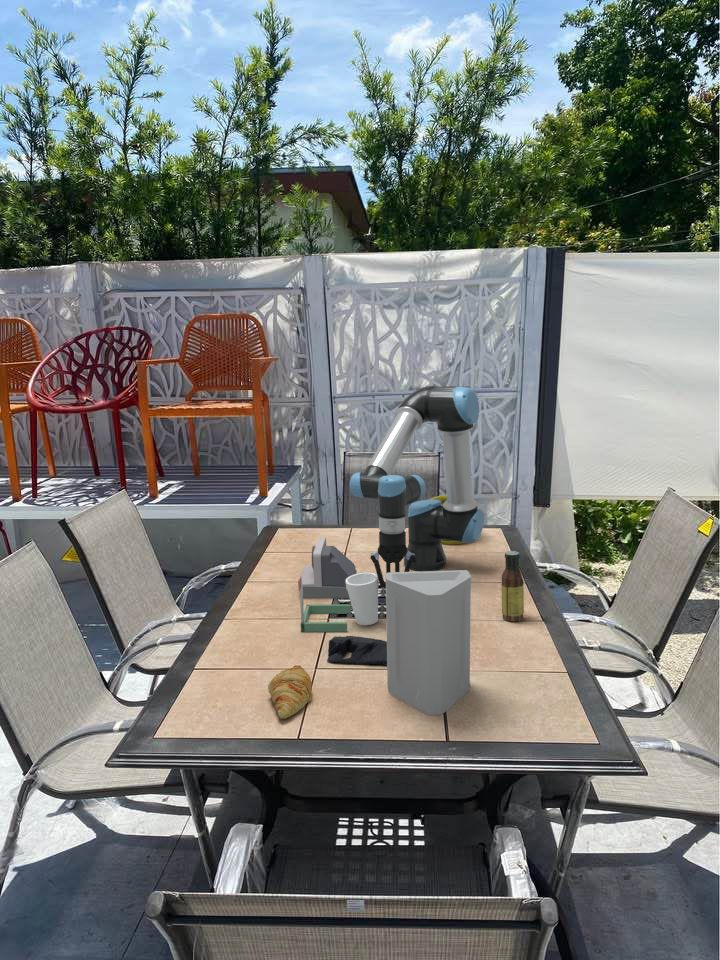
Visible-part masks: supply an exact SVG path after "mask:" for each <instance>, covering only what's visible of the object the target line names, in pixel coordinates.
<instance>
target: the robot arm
mask: <svg viewBox="0 0 720 960" xmlns="http://www.w3.org/2000/svg"><path fill="white" fill-rule="evenodd" d="M479 413H480V403H479V398H478V396H477V393H476V392H475V391H474V390H473V389H472V388H470V387H465V386H464V387H463V386H459V385H457V386H452V385H451V386H448V385H447V386H446V385H445V386H442V385H441V386H439V385H438V386H435V385H434V386H433V385H427V386H424V387H421V388H418V389H416V390H414V392H412V393H410V394H409V395H408V396H407V397H406V398H405V399H403V400H402V402H401V403H400V404H399V406H398V407H397V409H396V410H395V413H394V417H395V419H394V420H393V422H392V423H391V425H390V427H389V429H388V430H387V432H386V434H385V436H384V437H383V439H382V440H381V442H380V444H379V446H378V448H377V449H376V450H375V452H374V453H373V456H372V458H371V460H370V462H369V463H368V465H367V467H366V468H365V470H364V471H363V472H362V471H359V472H355V473H353V474H352V476H351V477H350V479H349V490H350V494H351V495H352V496H353V497H355V498H361V499H368V500H369V499H371V500H378V530H379V532H378V539H379V540H378V542H379V543H378V544H379V545H378V548H377V551H375V552H372V553H370V557H369V558H370V560H371V561H372V563H373V564H374V568H375V572H376V575H377V576H378V582H379V586H380V588H383V589H386V581H384V576H383V572H382V569H381V565H380V561H379V560H380V557H381V559H382V560H383V562H385V566H386V567H385V568H386V569H385V570H386V571H385V574H386V573H390V572H391V564H392V563H393V564H394V567H395V568H394V572H401V571H400V562H401V561H402V560H403V566H404V571H403V572H411V570H412V571H413V570H414V571H417V572H422V571H439V570H441V569H444V568H445V567H446V566H447V557H446V554H445V553H446V552H445V550H444V548H443V545H442V543H441V539H444V540H451V541H458V542H462V543H463V544H465V543H470V544H474V543H475V542H477V541H478V540H479V538H480V536H481V534H482V532H483V529H484V524H485V512H484V511H483V510H481V509H480V508H479V509H478V502H477V500H475V499H474V498H473V485H472V483H473V482H472V467H471V465H472V464H471V445H470V431H472V430H473V428H474V425H475V424H476V423H477V422H478V420H479V416H480V414H479ZM427 422H432V423H436V424H437V430H438V431H439V432H440V433H441V434H442V441H443V442H442V443H443V456H444V457H443V460H444V473H445V476H444V477H445V487H446V495H447V500H446V501H445V502H444V504H443V506H442V503H441V501H440V500H436V499H431V498H430V499H431V500H430V499H422V500H420V499H421V498H422V497H423V496H424V495H425V493H426V490H427V489H426V487H427V486H426V482H425V480H424V479H423V478H422V477H421V476H420V475H416V474H411V475H410V474H409V475H407V476H406V475H405V476H402V475H397V474H392V473H393V472H394V470H395V468H396V466H397V464H398V463H399V461H400V460H401V457H402V455H403V453H404V452H405V450H406V448H407V446H408V445H409V443H410V441H411V439H412V437H413V436H414V434H415V432H416V430H418V429H419V430H420V429H421V427H423V424H424V423H427ZM472 498H473V499H472ZM409 504H410V505H409ZM408 505H409V506H408ZM406 506H408V513H407V520H408V521H407V520H406ZM406 521H407V522H406ZM407 523H408V524H407ZM406 525H408V527H406ZM406 528H408V533H407V532H406V531H405V530H406ZM406 534H408V545H407V544H406V543H407V541H406V540H407V537H406V536H407V535H406ZM464 542H465V543H464Z"/></svg>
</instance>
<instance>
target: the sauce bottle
mask: <svg viewBox="0 0 720 960" xmlns="http://www.w3.org/2000/svg"><path fill="white" fill-rule="evenodd" d="M504 559H505V566H504V567H505V568H504V570H503V572H502V574H501V614H502V618H503V619H504V620H505V621H507V622H514V623H515V622H520V621H522V620H523V619H524V613H525V606H524V605H525V604H524V603H525V602H524V601H525V599H524V597H525V596H524V595H525V594H524V593H525V592H524V588H525V587H524V578H523V575H522V572H521V569H520V565H519V564H520V563H519V562H520V561H519V559H520V552H518V551H515V550H509V551H507V550H506V551H505V552H504Z"/></svg>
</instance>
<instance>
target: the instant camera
mask: <svg viewBox="0 0 720 960" xmlns="http://www.w3.org/2000/svg"><path fill="white" fill-rule="evenodd" d="M315 544H316V545H313V546H312V548H311V564H306V565H305V566H303V568H302V571H301V572H302V573H301V575H302V586H303V599H350V597H349V594H348V590H347V589H346V579H347V578H348V577H349V576H352V575H354V574H358V573H357V572H358V571H357V570H358V569H356V568H357V567H356V565H355V564H354V563H353V561H352V560H350V559H349V557H347V556H346V555H345V554H344V553H343V552H341V550H339V549H338V548H337V547H336V546H334V545H327V537H326V536H319V537H318V538H317V540H316V543H315Z"/></svg>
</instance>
